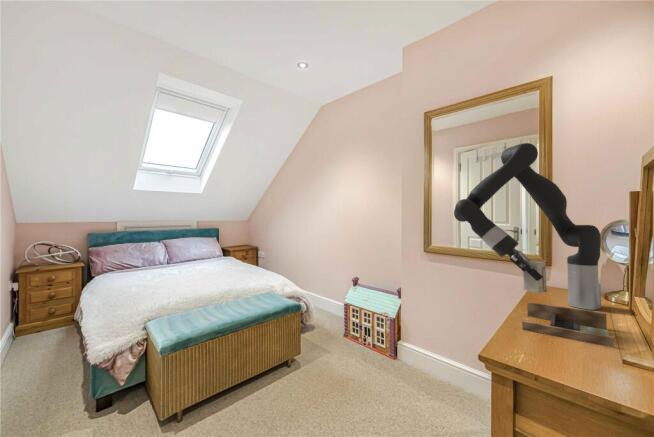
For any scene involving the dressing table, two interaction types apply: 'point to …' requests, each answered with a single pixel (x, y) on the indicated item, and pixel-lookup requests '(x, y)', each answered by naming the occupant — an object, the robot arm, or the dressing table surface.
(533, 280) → the skincare box
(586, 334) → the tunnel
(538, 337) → the dressing table surface
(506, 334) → the dressing table surface
